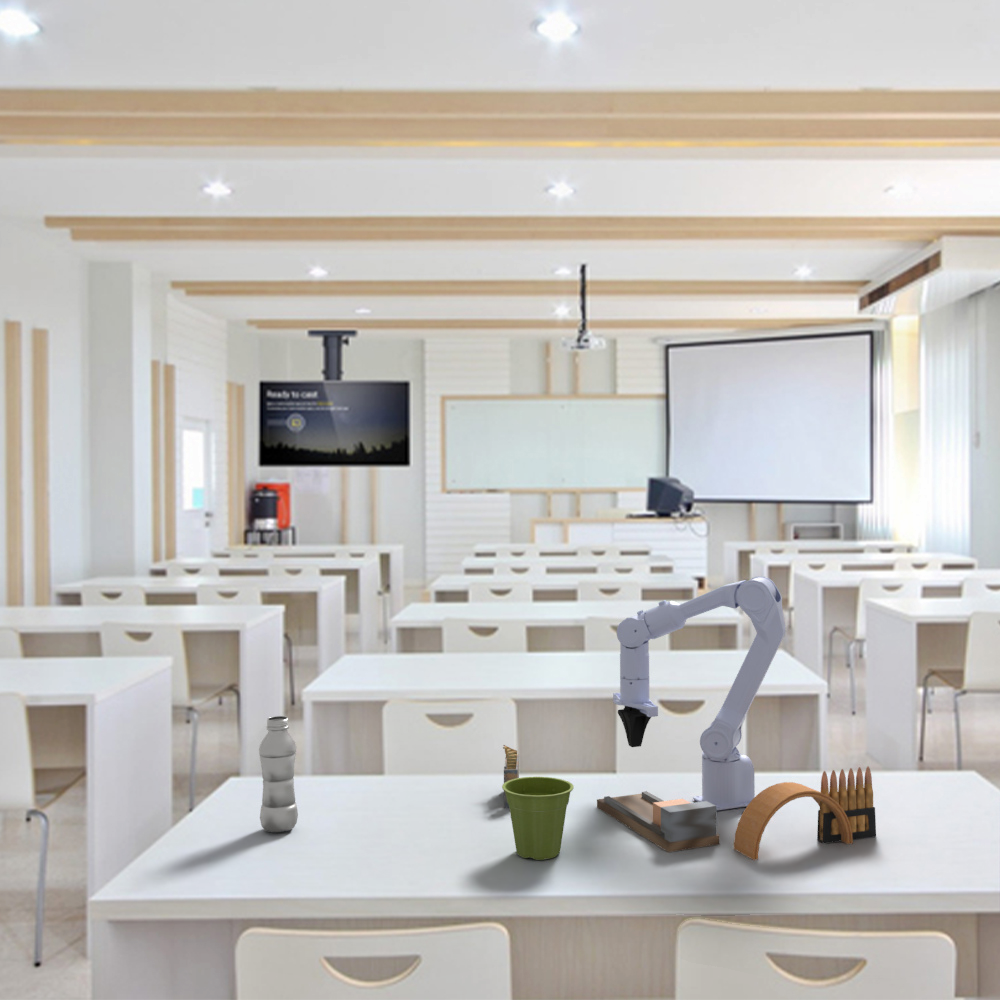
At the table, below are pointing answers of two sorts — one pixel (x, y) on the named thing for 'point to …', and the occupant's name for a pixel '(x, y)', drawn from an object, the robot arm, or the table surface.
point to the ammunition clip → (847, 806)
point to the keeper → (658, 806)
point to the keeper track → (648, 814)
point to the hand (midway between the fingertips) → (635, 746)
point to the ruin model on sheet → (510, 768)
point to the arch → (771, 802)
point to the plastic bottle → (278, 777)
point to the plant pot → (538, 814)
